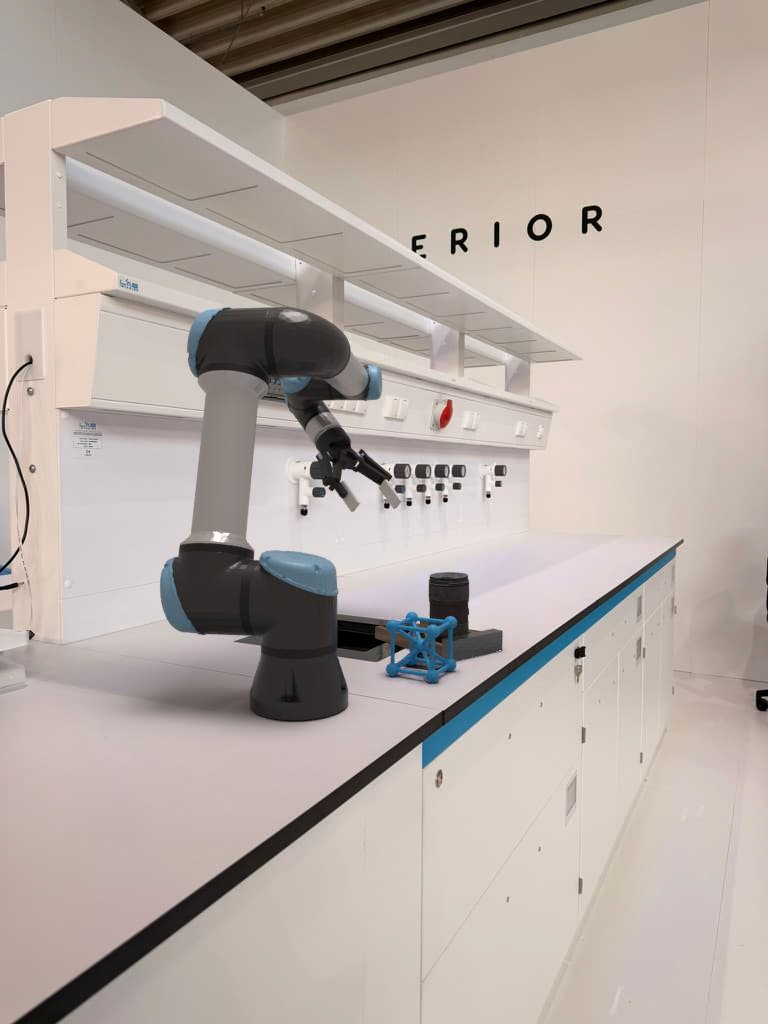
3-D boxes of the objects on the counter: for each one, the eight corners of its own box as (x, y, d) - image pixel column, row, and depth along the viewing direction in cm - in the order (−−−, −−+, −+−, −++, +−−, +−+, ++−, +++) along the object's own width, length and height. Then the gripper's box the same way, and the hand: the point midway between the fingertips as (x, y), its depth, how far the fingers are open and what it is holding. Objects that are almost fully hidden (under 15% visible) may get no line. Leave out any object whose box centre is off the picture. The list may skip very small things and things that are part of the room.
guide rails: (442, 659, 139) (442, 646, 139) (375, 638, 156) (375, 626, 155) (493, 648, 148) (493, 635, 148) (424, 629, 164) (424, 618, 164)
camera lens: (430, 642, 152) (430, 570, 151) (469, 644, 151) (470, 572, 150) (425, 652, 144) (426, 577, 143) (467, 654, 143) (468, 578, 142)
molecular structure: (408, 663, 137) (409, 610, 136) (458, 670, 133) (459, 615, 132) (383, 676, 128) (383, 620, 128) (435, 685, 124) (436, 626, 123)
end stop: (451, 662, 137) (451, 641, 137) (442, 659, 139) (442, 638, 139) (502, 650, 146) (502, 630, 146) (493, 648, 148) (493, 628, 148)
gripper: (358, 449, 179) (405, 514, 170) (279, 448, 160) (327, 521, 151) (374, 427, 175) (423, 492, 166) (295, 423, 156) (345, 496, 147)
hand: (377, 506), depth 159 cm, fingers open, 13 cm apart
